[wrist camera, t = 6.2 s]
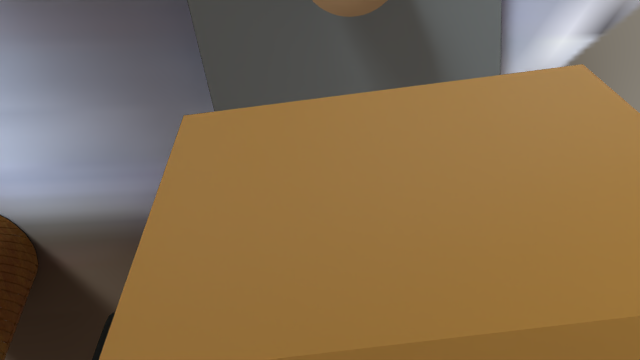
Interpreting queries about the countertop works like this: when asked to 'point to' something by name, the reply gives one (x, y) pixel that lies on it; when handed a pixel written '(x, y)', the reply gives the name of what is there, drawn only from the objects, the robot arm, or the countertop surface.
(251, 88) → the block
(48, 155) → the countertop surface
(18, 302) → the disposable coffee cup
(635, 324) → the tan cardboard carton
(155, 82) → the countertop surface
